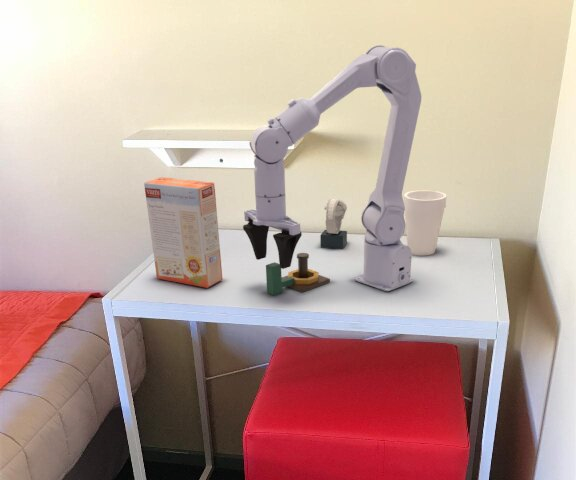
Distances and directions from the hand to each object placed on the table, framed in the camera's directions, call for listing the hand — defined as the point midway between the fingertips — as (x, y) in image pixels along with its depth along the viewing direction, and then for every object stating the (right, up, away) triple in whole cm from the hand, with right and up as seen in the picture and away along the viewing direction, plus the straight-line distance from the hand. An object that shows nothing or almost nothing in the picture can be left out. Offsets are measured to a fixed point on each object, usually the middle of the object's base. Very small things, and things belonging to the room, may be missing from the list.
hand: (273, 262), depth 133 cm
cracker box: (-18, -2, +11) cm, 22 cm away
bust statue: (+14, +9, +29) cm, 33 cm away
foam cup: (+34, +7, +23) cm, 42 cm away
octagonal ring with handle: (+4, -4, +6) cm, 8 cm away
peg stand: (+6, -3, +8) cm, 10 cm away
